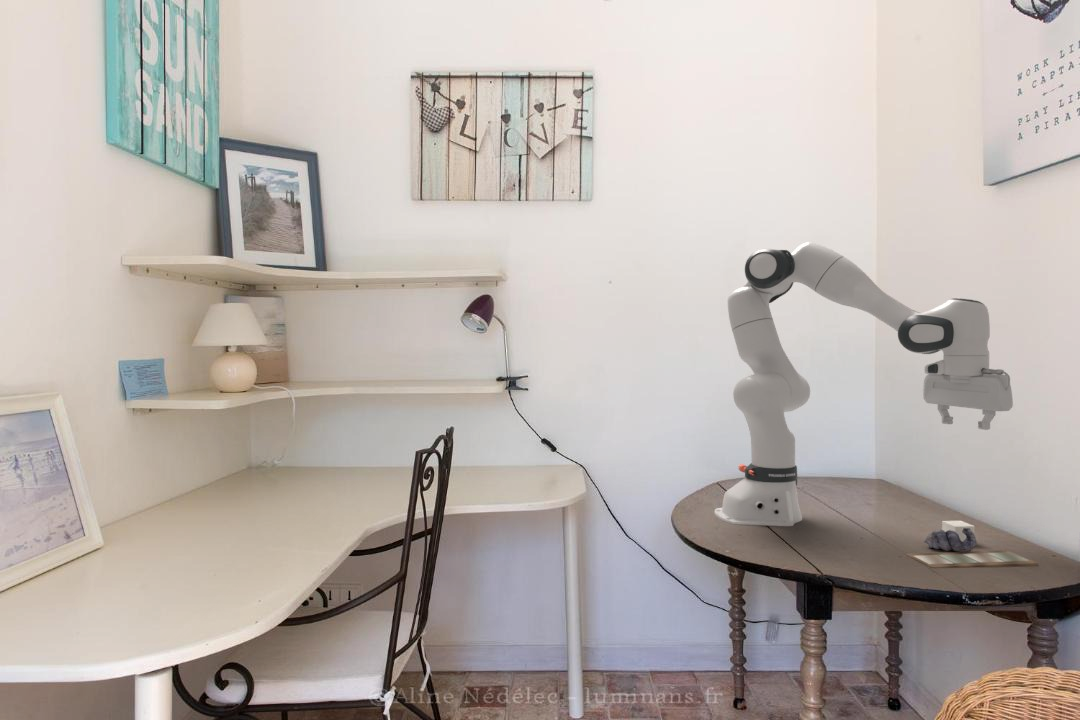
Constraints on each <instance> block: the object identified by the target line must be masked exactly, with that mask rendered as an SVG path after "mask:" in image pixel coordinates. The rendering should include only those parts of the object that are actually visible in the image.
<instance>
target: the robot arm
mask: <svg viewBox="0 0 1080 720" xmlns="http://www.w3.org/2000/svg"><path fill="white" fill-rule="evenodd" d="M744 275H745V278H746V280H747V282H746V284H745V285H743V286H742V287H739V288H736V289H735V290H733V291H732V292H731V293H730V294H729V296H728V298H727V311H728V316H729V317H728V318H729V323H730V327H731V332H732V334H733V338H734V342H735V346H736V349H737V351H738V355H739V357H740V359H741V360H742V362H744V363H746V364H747V365H748V367H749V368H750V369H751V371H752V372H753V374H751V375H748V376H746V377H743V378H742V379H740V380H739V381H738V382H736V384H735V386H734V389H733V394H732V395H733V401H734V404H735V406H736V407H737V409H738V410H740V411H741V412H742V414H743V416H744V417H745V421H746V423H747V426H748V430H749V435H750V444H751V445H750V446H751V447H750V449H751V462H750V464H749V465H746V464H742V463H740V464H739V465H738V467H737V469H738V470H739V472H742V473H744V478H742V479H741V480H740V481H739V482H737V483H735V485H732V487H730V488H729V489H727V490H726V491H725V493H724V495H723V498H722V507H717V508H715V509H714V515H715V516H716V517H717V518H719V519H720V520H721V521H723V522H725V523H729V524H731V525H740V526H741V525H744V526H745V525H747V526H748V525H749V526H770V527H771V526H776V527H793V526H794V525H795V524H797V523H799V522H801V521H803V516H802V513H801V509H800V505H799V500H798V499H799V498H798V493H797V486H798V466H797V465H796V437H795V435H794V434H793V432H792V431H791V430H790V429H789V427H788V424H787V421H786V418H785V413H787V412H788V413H789V412H793V411H796V410H797V409H799V408H801V407H803V406H804V405H805V404H806V403H807V402H808V401H809V399H810V395H811V386H810V383H809V382H808V380H807V379H806V378H805V377H804V376H802V375H801V374H800V373H799V372H798V371H797V369H796V368H795V367H794V366H793V363H792V362H791V360H790V359H789V357H788V356H787V354H786V352H785V350H784V348H783V346H782V343H781V341H780V337H779V335H778V332H777V331H778V330H777V327H776V325H775V321H774V319H773V318H774V317H773V316H772V312H771V308H770V304H771V303H773V302H775V301H776V300H778V298H779V299H780V297H782V296H784V295H785V294H787V293H788V292H789V291H790V290H791V289H792V287H793V285H794V283H799V284H801V285H805V286H806V287H808V288H809V289H811V290H812V291H813V292H815V293H816V294H818V295H820V296H822V297H823V298H825V299H828V300H829V301H831V302H834V303H836V304H838V305H842V306H846V307H850V308H854V309H858V310H861V311H863V312H865V313H868V314H870V315H872V316H873V317H875V318H877V319H878V320H879V321H881V322H883V323H885V324H886V325H887V326H889V327H891V328H893V330H894V331H896V332H897V338H898V341H899V343H900V344H901V346H903V348H905V349H906V350H907V351H910V352H912V353H915V354H922V355H931V354H937V353H938V352H940V351H942V352H943V359H940V360H938V361H936V362H932V363H929V364H926V365H925V366H924V373H925V374H926V375H925V377H924V379H923V385H922V386H923V389H922V392H923V393H922V395H923V397H922V398H923V399H924V402H925V403H926V404H931V405H937V411H938V413H939V414H940V416H941V423H942V424H943V425H944V424H945V425H953V422H954V417H953V416H951V414H950V413H949V409H950V407H959V408H967V409H975V410H982V411H981V412H982V413H981V414H982V415H984V416H983V418H982V419H981V420H980V421H979V420H978V421H977V428H978V429H979V430H984V431H988V430H991V422H992V421H993V419H994V418H995V417H996V412H1008V411H1011V409H1012V408H1013V407H1014V401H1013V391H1012V386H1011V376H1010V374H1009V373H1007V372H1006V371H1005V370H1004V369H1002V368H1001V369H994V368H990V351H989V347H988V343H989V340H990V332H991V331H990V330H991V329H990V328H991V326H990V325H991V323H990V314H989V313H990V312H989V309H988V307H987V306H986V305H985V304H984V303H983V302H981V301H980V300H975V299H968V298H956V297H955V298H950V299H948V300H946V301H945V302H944V303H942V304H940V305H938V306H936V307H934V308H931V309H929V310H925V311H923V312H919V311H917V310H914V309H911V308H910V307H908V306H907V305H904V304H903V302H900V301H899V300H897V299H895V298H893V297H892V296H890V295H889V294H887V293H886V292H885V291H883V290H882V289H881V288H880V287H879V286H878V285H877V284H876V283H875V282H874V280H872V279H871V278H870V276H868V275H867V274H866V272H864V270H863V269H861V268H860V267H859V266H858V265H857V264H855V263H854V262H852V261H851V260H850V259H849V258H847V257H845V256H844V255H842V254H840V253H839V252H836V251H834V250H833V249H832V248H828V247H826V246H825V245H822V244H819V243H817V242H813V241H807V242H803V243H801V244H800V245H798V246H797V247H796V248H795V249H794V250H793V251H792V252H791V251H790V250H787V249H772V248H763V249H759V250H758V249H757V250H756V251H754V252H752V253H751V254H750V256H748V258H747V259H746V261H745V264H744Z"/></svg>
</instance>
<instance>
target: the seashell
mask: <svg viewBox="0 0 1080 720" xmlns="http://www.w3.org/2000/svg"><path fill="white" fill-rule="evenodd" d="M962 533H964V534H965V535H966V539H965V540H964V541H963V542H962V541H961V540H960V537H959V536H958V534H957V533H956V532H955V531H952V530H948V531H946V532H945V531H944V530H942V529H938V530H937V529H936V530H932V532H930V533H928V535H927V537H926V538H925V539H924V540H923V542H924V543H926V544H927V546H928V548H929V549H932V548H933V549H934V550H940V549H941V550H943V551H944V552H950V551H951V550H953V552H971V551H973V549H974V548H975V547H976V545H977V539H976V535H974V533H973V532H972V531H971V529H970V528H963V530H962Z"/></svg>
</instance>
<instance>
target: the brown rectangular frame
mask: <svg viewBox="0 0 1080 720" xmlns="http://www.w3.org/2000/svg"><path fill="white" fill-rule="evenodd" d="M905 555H906V556H907V557H909V558H911V559H913V560H915V561H917V562H919V563H921V564H923V565H925V566H926V567H929V568H930V569H942V568H943V569H944V568H945V569H946V568H948V569H949V568H953V567H954V568H987V567H988V568H989V567H990V568H991V567H1025V566H1026V567H1028V566H1032V567H1033V566H1037V567H1038V566H1039V563H1038V562H1036V561H1034V560H1032V559H1029V558H1028V557H1024V556H1022V555H1019V554H1017V553H1015V552H1012V551H1010V550H1007V549H1004V550H1003V549H1002V550H1001V549H1000V550H977V551H976V550H975V551H973V550H971V551H968V552H957V551H943V552H921V553H916V552H915V553H906V554H905ZM954 568H953V569H954Z"/></svg>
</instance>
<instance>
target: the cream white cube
mask: <svg viewBox="0 0 1080 720" xmlns="http://www.w3.org/2000/svg"><path fill="white" fill-rule="evenodd" d="M963 528H970V529H971V531H972V532H973V533H974V535H975V533H976V532H975V525H973V524H971V523H967V522H966V521H964V520H963V521H962V520H941V530H944V531H945V532H946V531H948V530H952V531H955V532H956V533H957V534H958V536H959V537H960V540H961V541H962V542H963V541H964V540H965V539H966V535H965V534H964V533H962V530H963ZM975 536H976V535H975Z"/></svg>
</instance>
